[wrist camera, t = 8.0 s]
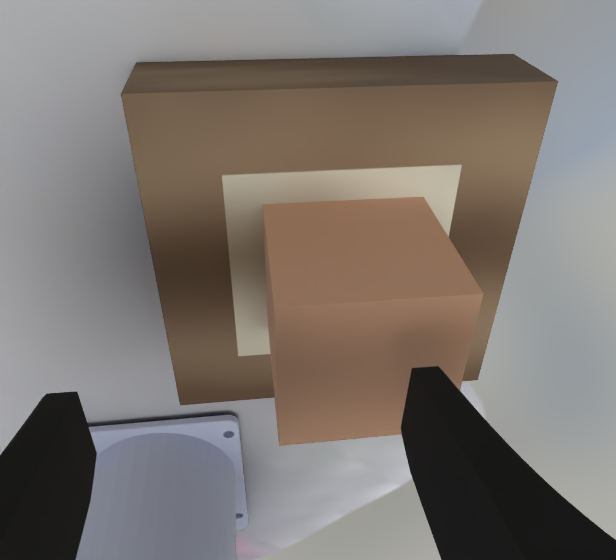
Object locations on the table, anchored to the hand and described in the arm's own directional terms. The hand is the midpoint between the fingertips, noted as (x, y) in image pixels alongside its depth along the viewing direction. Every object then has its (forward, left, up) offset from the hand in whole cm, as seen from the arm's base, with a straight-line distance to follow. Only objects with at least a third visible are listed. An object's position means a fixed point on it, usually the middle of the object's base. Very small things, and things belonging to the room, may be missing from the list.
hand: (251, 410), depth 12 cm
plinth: (-1, -3, -10) cm, 10 cm away
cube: (-1, -3, -7) cm, 7 cm away
